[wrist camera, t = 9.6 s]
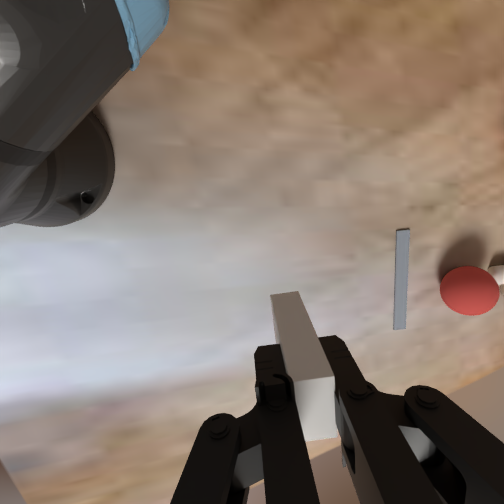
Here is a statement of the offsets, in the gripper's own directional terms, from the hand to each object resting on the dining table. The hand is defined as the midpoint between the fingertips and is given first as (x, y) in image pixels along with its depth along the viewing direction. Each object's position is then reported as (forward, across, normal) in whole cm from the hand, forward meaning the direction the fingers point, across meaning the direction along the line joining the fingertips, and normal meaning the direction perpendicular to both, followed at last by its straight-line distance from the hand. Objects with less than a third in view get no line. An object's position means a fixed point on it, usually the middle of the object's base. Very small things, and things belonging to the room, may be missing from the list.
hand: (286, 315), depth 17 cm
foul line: (+22, +18, -10) cm, 30 cm away
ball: (+19, +24, -11) cm, 33 cm away
